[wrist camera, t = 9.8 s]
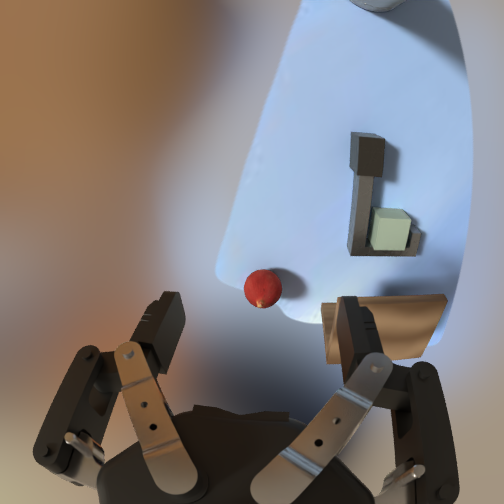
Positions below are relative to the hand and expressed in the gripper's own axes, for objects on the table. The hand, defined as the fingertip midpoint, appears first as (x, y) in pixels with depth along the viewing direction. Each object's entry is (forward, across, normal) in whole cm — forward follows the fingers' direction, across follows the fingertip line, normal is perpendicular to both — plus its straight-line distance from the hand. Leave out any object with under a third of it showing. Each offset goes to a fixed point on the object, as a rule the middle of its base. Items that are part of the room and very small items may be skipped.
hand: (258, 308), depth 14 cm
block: (+28, -17, +8) cm, 34 cm away
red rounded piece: (+28, +2, +18) cm, 34 cm away
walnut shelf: (+28, -16, +20) cm, 38 cm away
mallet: (+28, -16, +4) cm, 33 cm away
